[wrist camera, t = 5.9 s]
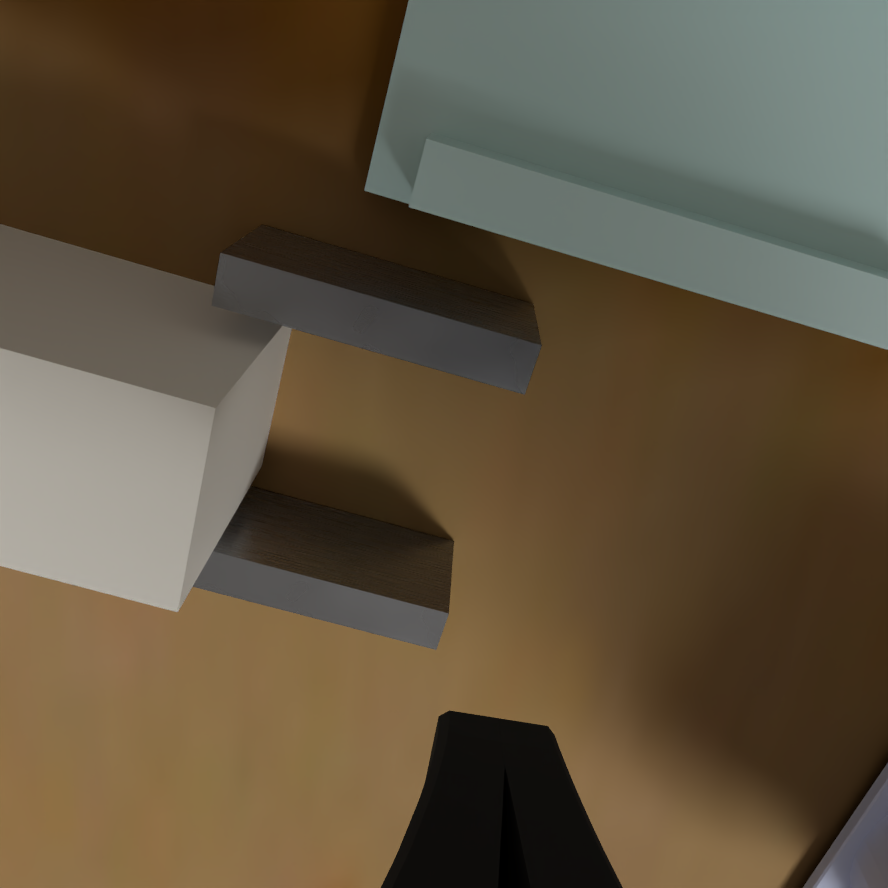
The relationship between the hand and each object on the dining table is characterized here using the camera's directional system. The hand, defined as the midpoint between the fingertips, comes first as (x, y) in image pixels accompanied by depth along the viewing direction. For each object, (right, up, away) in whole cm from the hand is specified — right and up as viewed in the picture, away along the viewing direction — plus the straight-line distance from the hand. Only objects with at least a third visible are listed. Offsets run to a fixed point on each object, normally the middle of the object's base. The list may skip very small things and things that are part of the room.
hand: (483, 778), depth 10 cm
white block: (-8, +6, +9) cm, 13 cm away
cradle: (+5, +11, +6) cm, 14 cm away
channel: (-2, +5, +9) cm, 10 cm away
